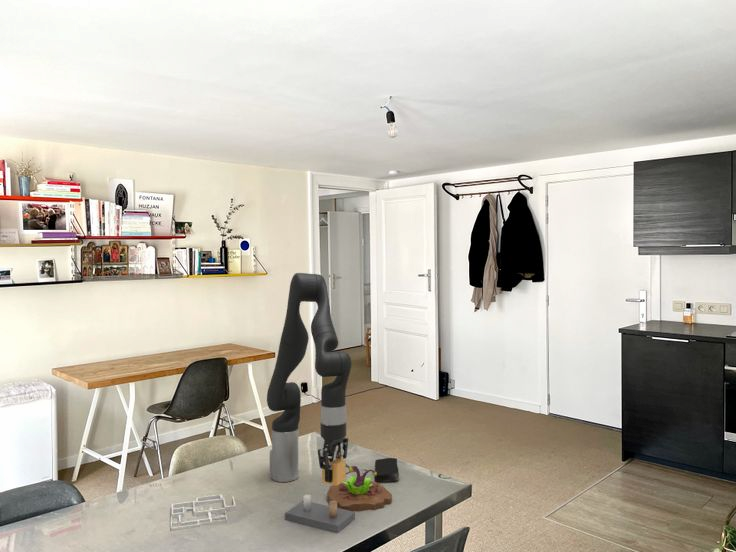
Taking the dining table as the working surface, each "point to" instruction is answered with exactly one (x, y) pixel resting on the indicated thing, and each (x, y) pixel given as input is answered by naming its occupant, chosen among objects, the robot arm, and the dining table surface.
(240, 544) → the dining table surface
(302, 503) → the board
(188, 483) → the dining table surface
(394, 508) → the dining table surface
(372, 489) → the plant
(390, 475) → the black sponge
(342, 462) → the pale orange cube
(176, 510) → the floor plan model
